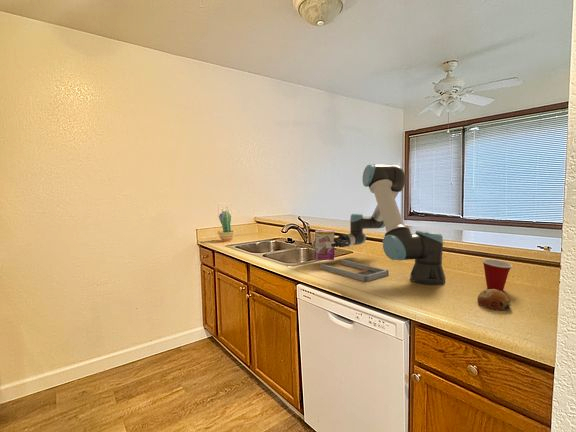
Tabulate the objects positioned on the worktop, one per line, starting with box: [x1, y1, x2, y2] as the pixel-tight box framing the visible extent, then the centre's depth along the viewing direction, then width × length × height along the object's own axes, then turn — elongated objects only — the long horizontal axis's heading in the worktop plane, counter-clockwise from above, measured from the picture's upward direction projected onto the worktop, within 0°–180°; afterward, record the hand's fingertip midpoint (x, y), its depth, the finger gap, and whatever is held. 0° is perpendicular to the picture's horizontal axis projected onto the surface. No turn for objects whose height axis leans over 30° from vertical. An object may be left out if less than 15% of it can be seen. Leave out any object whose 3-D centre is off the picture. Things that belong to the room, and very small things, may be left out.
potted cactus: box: [217, 210, 237, 243], centre depth 258 cm, size 15×15×25 cm
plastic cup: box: [482, 258, 513, 292], centre depth 133 cm, size 11×11×12 cm
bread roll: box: [477, 288, 512, 312], centre depth 115 cm, size 10×10×8 cm
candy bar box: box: [314, 229, 336, 261], centre depth 178 cm, size 11×5×16 cm, turn 85°
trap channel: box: [320, 258, 390, 283], centre depth 162 cm, size 31×18×2 cm, turn 38°
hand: (319, 244), depth 175 cm, fingers closed on candy bar box, 11 cm apart
